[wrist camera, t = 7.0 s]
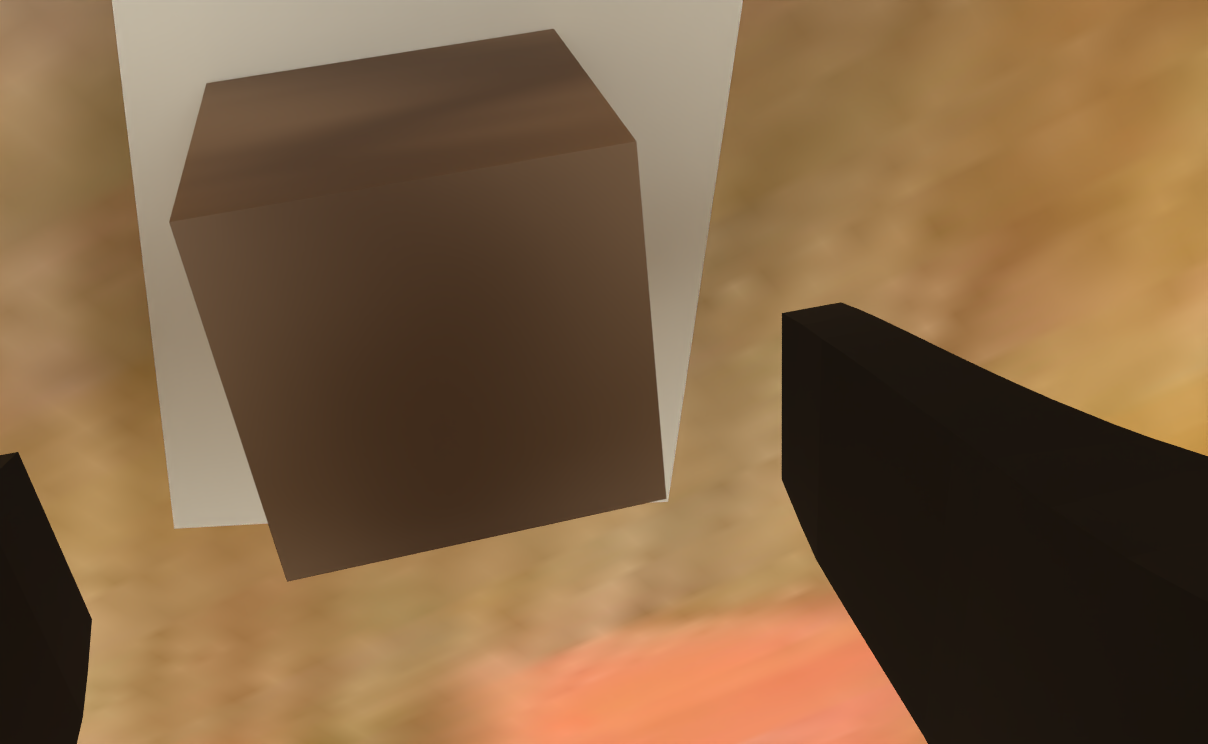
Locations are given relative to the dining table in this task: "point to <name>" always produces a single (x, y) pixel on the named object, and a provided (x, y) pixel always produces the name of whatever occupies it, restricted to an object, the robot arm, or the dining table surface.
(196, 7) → the tower top block
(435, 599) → the dining table surface
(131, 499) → the dining table surface
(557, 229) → the walnut cube
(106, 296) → the dining table surface
